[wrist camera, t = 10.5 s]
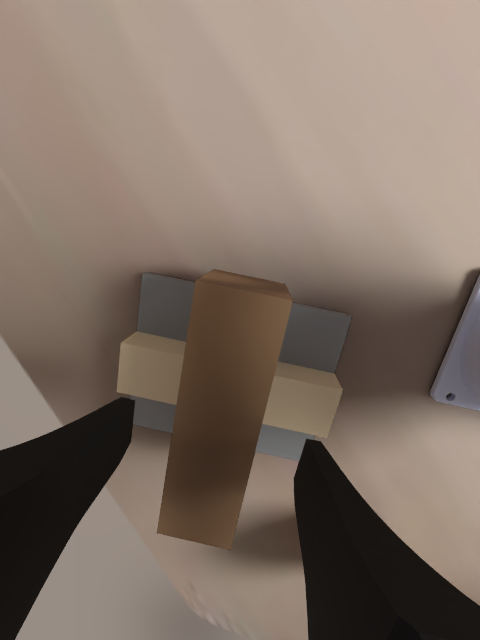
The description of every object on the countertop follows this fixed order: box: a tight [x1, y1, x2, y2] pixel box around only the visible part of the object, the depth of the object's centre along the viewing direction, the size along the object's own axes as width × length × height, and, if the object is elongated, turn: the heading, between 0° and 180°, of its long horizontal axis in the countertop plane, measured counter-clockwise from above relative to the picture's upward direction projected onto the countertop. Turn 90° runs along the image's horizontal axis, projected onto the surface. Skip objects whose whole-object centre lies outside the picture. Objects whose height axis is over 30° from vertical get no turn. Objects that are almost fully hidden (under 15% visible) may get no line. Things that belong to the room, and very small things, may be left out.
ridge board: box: [117, 272, 352, 461], centre depth 17 cm, size 12×10×3 cm
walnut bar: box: [157, 269, 293, 550], centre depth 14 cm, size 4×12×4 cm, turn 169°
